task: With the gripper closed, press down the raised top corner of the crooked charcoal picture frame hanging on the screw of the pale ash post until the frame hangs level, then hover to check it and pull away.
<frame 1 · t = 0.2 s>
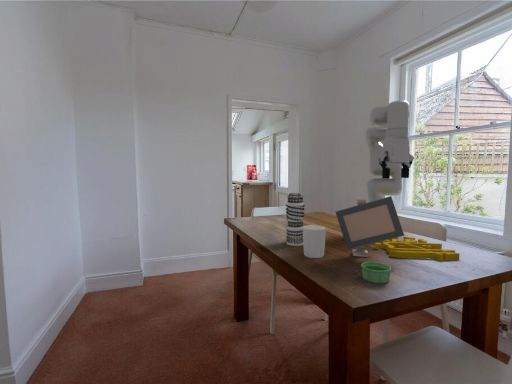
hand: (395, 178, 106), 33 cm above the table, tool pointing down, fingers open, 9 cm apart
ramekin: (375, 279, 88), on the table
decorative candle: (295, 243, 132), on the table
decorative art: (407, 249, 123), on the table
picture frame: (368, 223, 108), point 14 cm above the table, hinge at 18.0°
candle holder: (313, 255, 113), on the table
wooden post: (360, 255, 113), on the table
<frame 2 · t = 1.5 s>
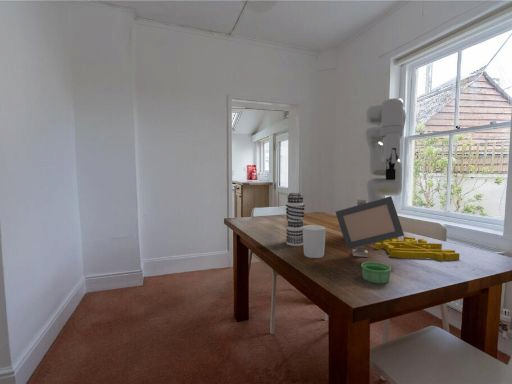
hand: (390, 179, 104), 32 cm above the table, tool pointing down, fingers closed
nothing on the table moved.
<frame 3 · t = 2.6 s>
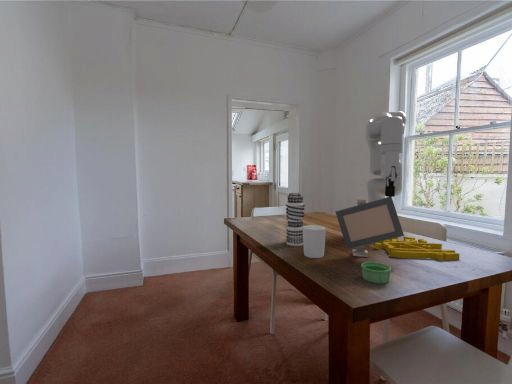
hand: (389, 196, 105), 25 cm above the table, tool pointing down, fingers closed
picture frame: (368, 223, 108), point 14 cm above the table, hinge at 17.8°, touching gripper
everything else where it was.
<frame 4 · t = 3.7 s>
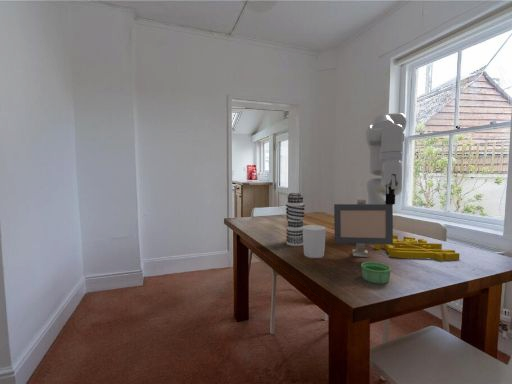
hand: (390, 204, 105), 22 cm above the table, tool pointing down, fingers closed
picture frame: (362, 223, 109), point 14 cm above the table, hinge at 1.7°, touching gripper
everything else where it was.
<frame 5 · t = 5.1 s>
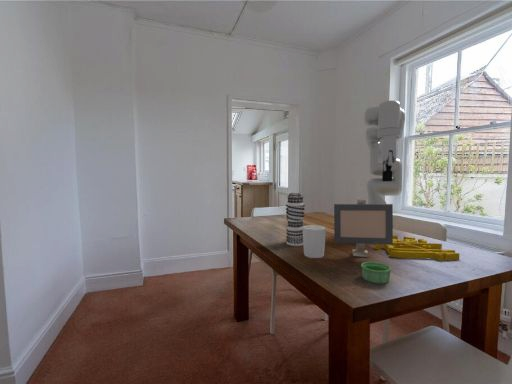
hand: (387, 181, 105), 31 cm above the table, tool pointing down, fingers closed
picture frame: (362, 223, 109), point 14 cm above the table, hinge at 1.5°
everything else where it was.
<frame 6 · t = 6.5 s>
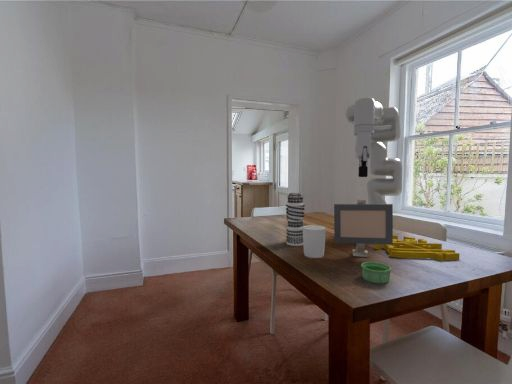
hand: (362, 176, 108), 33 cm above the table, tool pointing down, fingers closed
nothing on the table moved.
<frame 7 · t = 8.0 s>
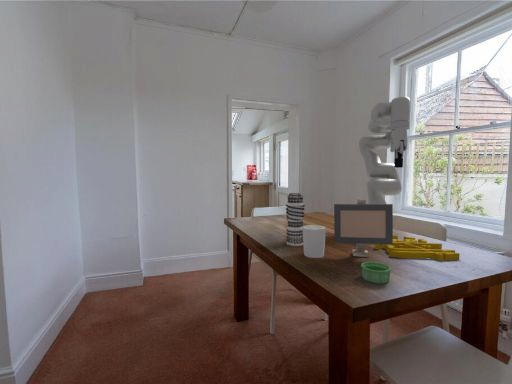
hand: (398, 167, 121), 37 cm above the table, tool pointing down, fingers closed
nothing on the table moved.
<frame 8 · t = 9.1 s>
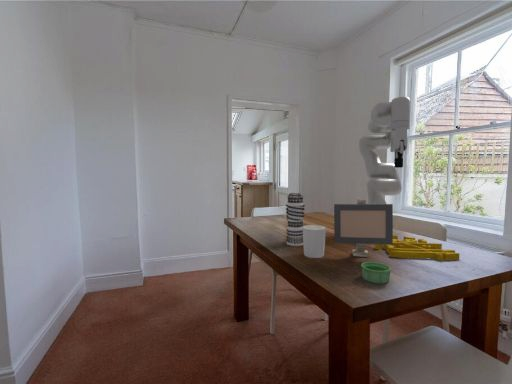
hand: (398, 167, 121), 37 cm above the table, tool pointing down, fingers closed
nothing on the table moved.
at the end: picture frame at +2° (first picture: +18°) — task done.
